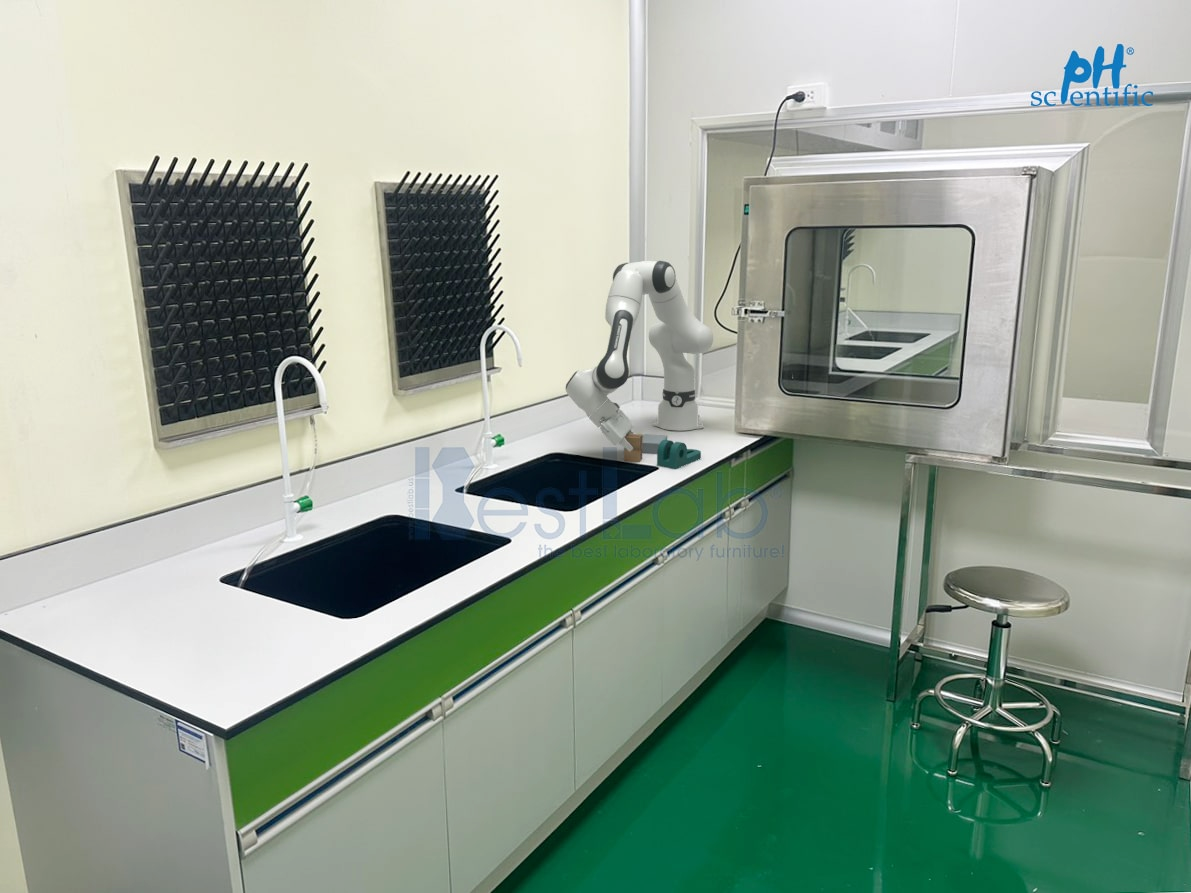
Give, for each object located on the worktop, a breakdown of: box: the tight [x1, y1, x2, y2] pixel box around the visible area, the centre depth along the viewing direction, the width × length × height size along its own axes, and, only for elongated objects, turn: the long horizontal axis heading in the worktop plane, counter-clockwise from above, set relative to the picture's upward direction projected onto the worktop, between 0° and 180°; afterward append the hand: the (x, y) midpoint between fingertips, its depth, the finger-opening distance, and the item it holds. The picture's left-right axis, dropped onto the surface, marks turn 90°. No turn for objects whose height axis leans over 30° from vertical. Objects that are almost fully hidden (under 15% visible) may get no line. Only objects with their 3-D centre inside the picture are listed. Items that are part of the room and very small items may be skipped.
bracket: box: [656, 439, 702, 470], centre depth 275 cm, size 18×7×8 cm, turn 143°
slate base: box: [642, 433, 668, 455], centre depth 291 cm, size 12×12×4 cm
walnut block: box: [623, 433, 644, 463], centre depth 276 cm, size 5×5×8 cm
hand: (634, 446), depth 276 cm, fingers open, 8 cm apart
